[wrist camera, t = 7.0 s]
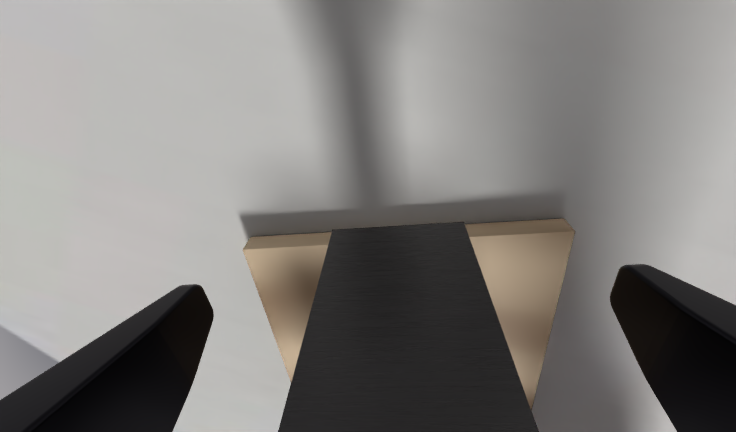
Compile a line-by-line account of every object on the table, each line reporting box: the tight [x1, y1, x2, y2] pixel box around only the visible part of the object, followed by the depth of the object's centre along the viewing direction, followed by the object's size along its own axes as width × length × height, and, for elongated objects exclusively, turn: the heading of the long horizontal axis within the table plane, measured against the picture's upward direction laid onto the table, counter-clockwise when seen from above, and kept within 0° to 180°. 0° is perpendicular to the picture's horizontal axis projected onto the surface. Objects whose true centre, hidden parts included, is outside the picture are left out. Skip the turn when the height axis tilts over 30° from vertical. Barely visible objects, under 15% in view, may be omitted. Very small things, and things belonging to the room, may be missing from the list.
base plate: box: [243, 218, 575, 410], centre depth 20 cm, size 23×14×1 cm, turn 6°
